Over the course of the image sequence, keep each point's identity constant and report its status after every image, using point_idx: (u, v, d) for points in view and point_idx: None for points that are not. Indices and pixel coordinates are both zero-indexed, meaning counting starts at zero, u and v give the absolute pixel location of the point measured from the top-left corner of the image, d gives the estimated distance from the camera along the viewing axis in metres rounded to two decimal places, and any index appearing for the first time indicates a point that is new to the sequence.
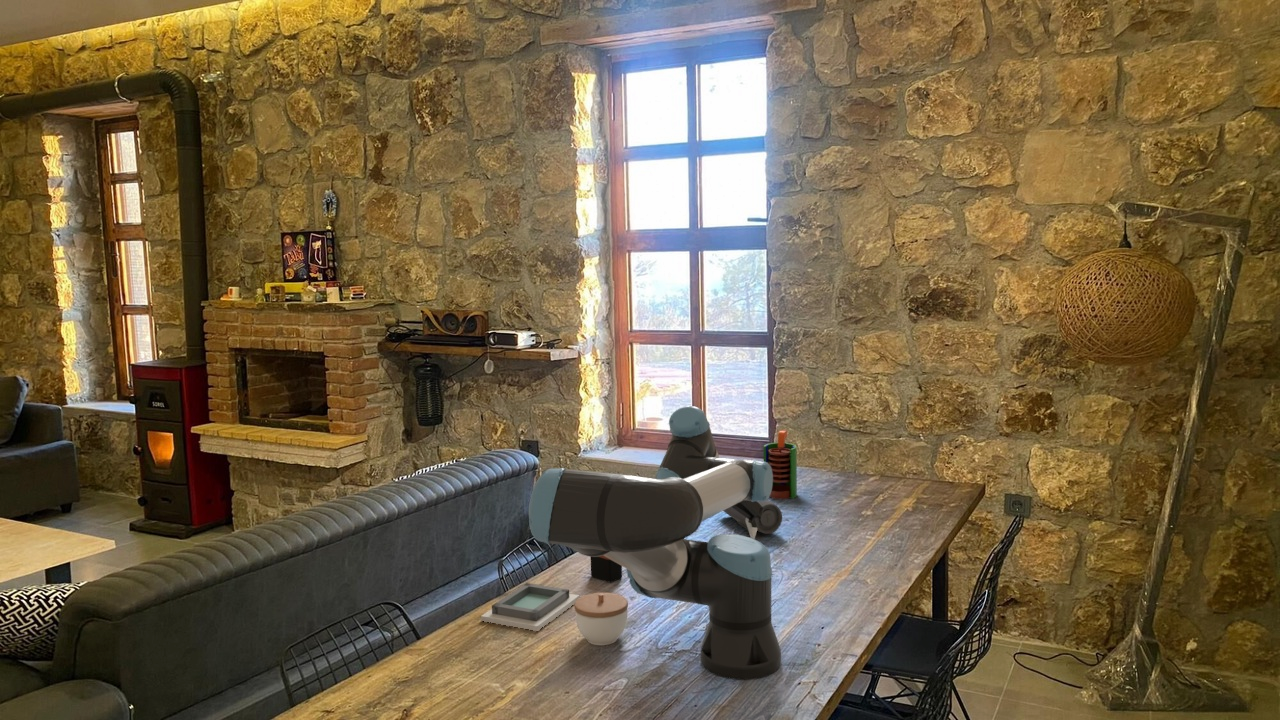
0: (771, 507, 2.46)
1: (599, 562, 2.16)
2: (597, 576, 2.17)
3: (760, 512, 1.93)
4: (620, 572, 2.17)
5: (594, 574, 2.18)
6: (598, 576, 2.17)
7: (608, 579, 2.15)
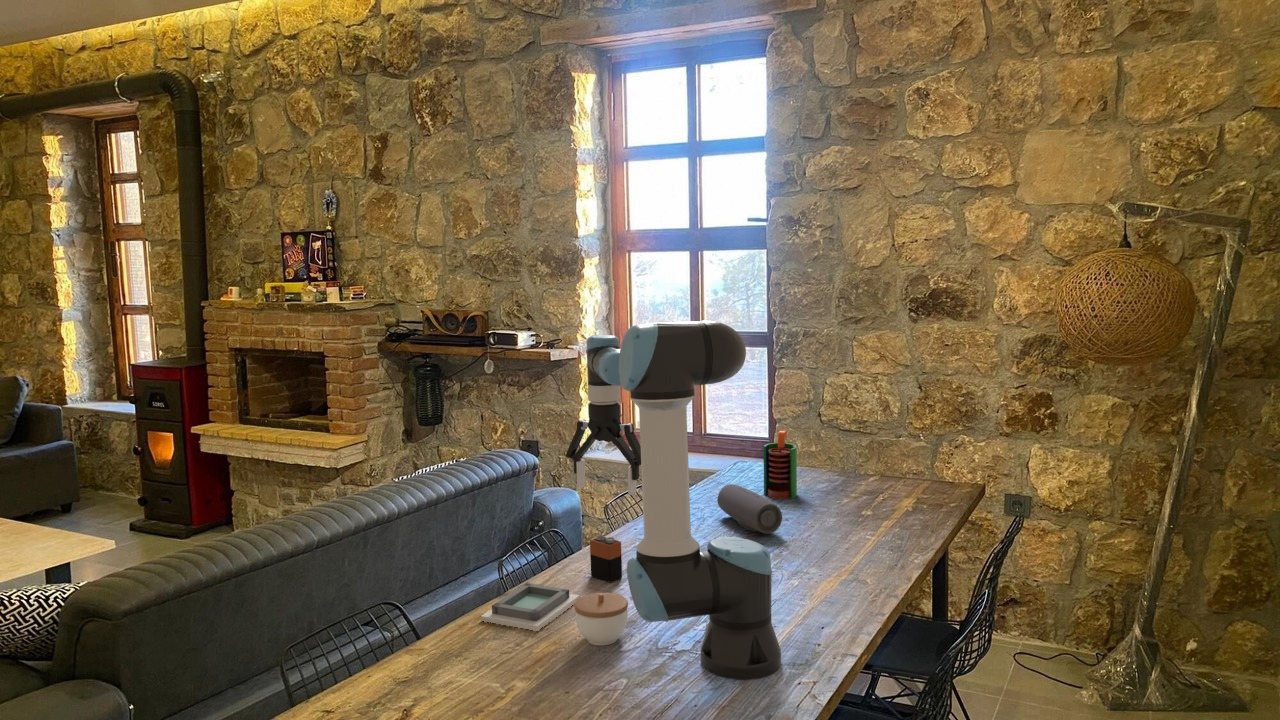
0: (771, 507, 2.46)
1: (599, 562, 2.16)
2: (597, 576, 2.17)
3: None
4: (620, 572, 2.17)
5: (594, 574, 2.18)
6: (598, 576, 2.17)
7: (608, 579, 2.15)
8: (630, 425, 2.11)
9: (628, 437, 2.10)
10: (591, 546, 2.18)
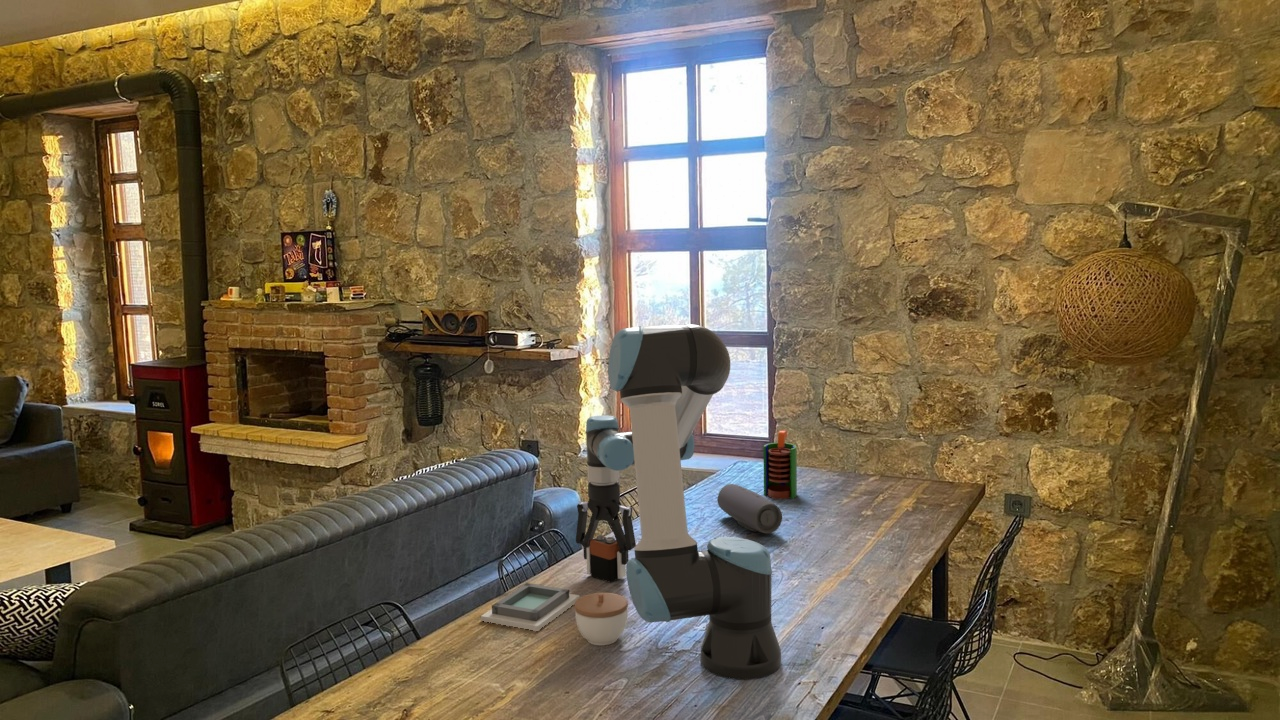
0: (771, 507, 2.46)
1: (599, 561, 2.16)
2: (597, 576, 2.17)
3: (632, 545, 2.14)
4: None
5: (595, 573, 2.18)
6: (598, 576, 2.17)
7: (608, 579, 2.15)
8: (629, 510, 2.13)
9: (624, 521, 2.13)
10: (591, 546, 2.18)
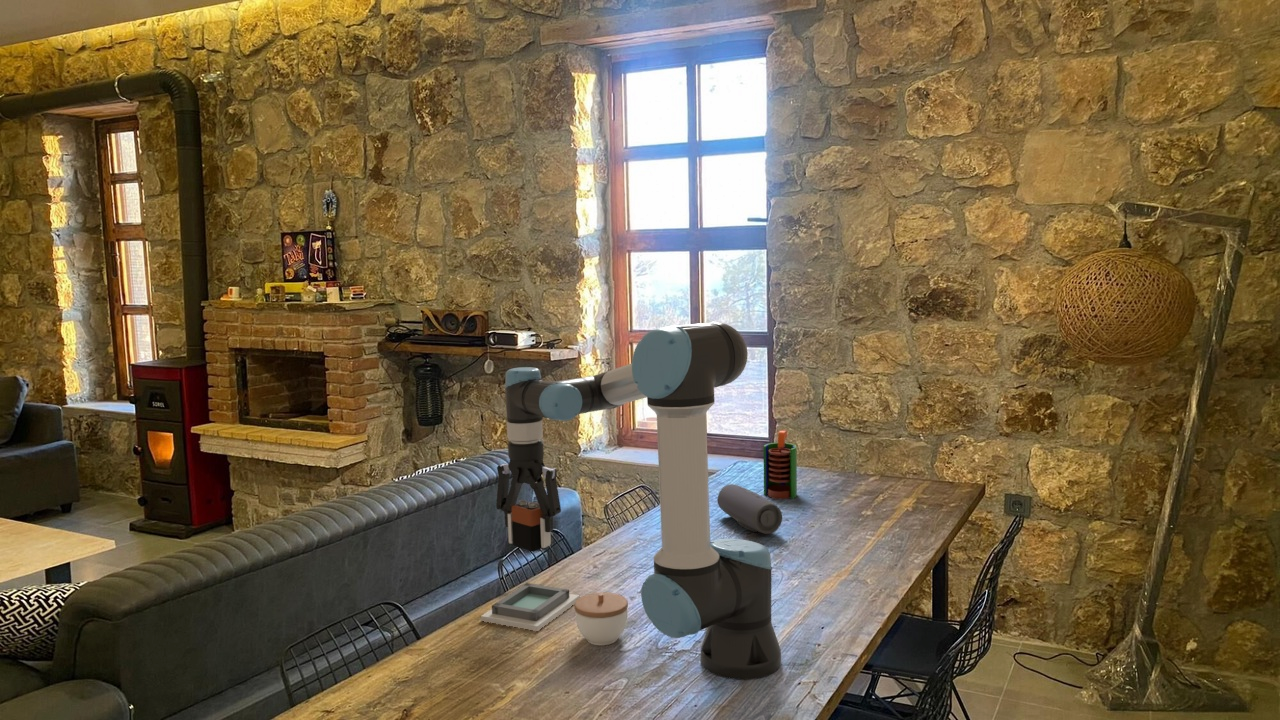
0: (771, 507, 2.46)
1: (520, 529, 1.96)
2: (519, 545, 1.97)
3: (557, 510, 1.93)
4: None
5: (516, 542, 1.97)
6: (520, 545, 1.97)
7: (530, 548, 1.94)
8: (553, 471, 1.93)
9: (548, 484, 1.92)
10: (513, 512, 1.97)
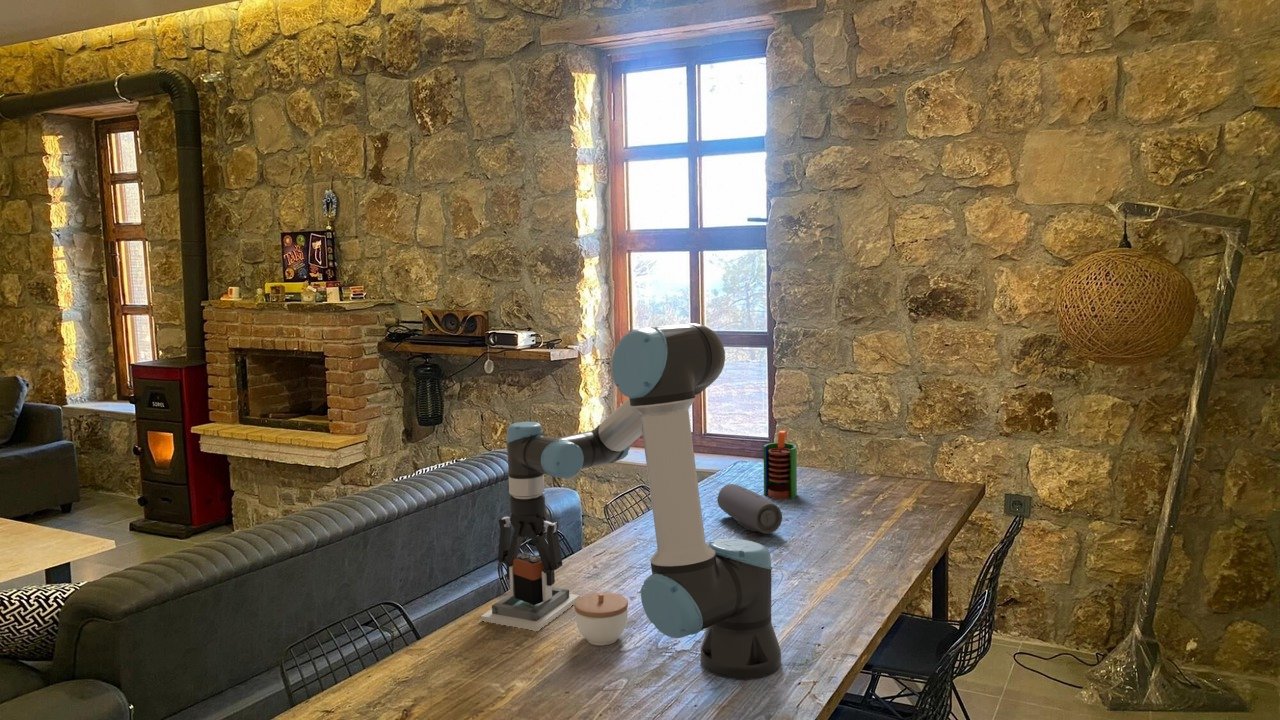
0: (771, 507, 2.46)
1: (522, 582, 1.97)
2: (521, 598, 1.98)
3: (558, 564, 1.95)
4: None
5: (518, 595, 1.99)
6: (522, 598, 1.98)
7: (532, 601, 1.96)
8: (555, 526, 1.94)
9: (549, 538, 1.94)
10: (514, 565, 1.98)
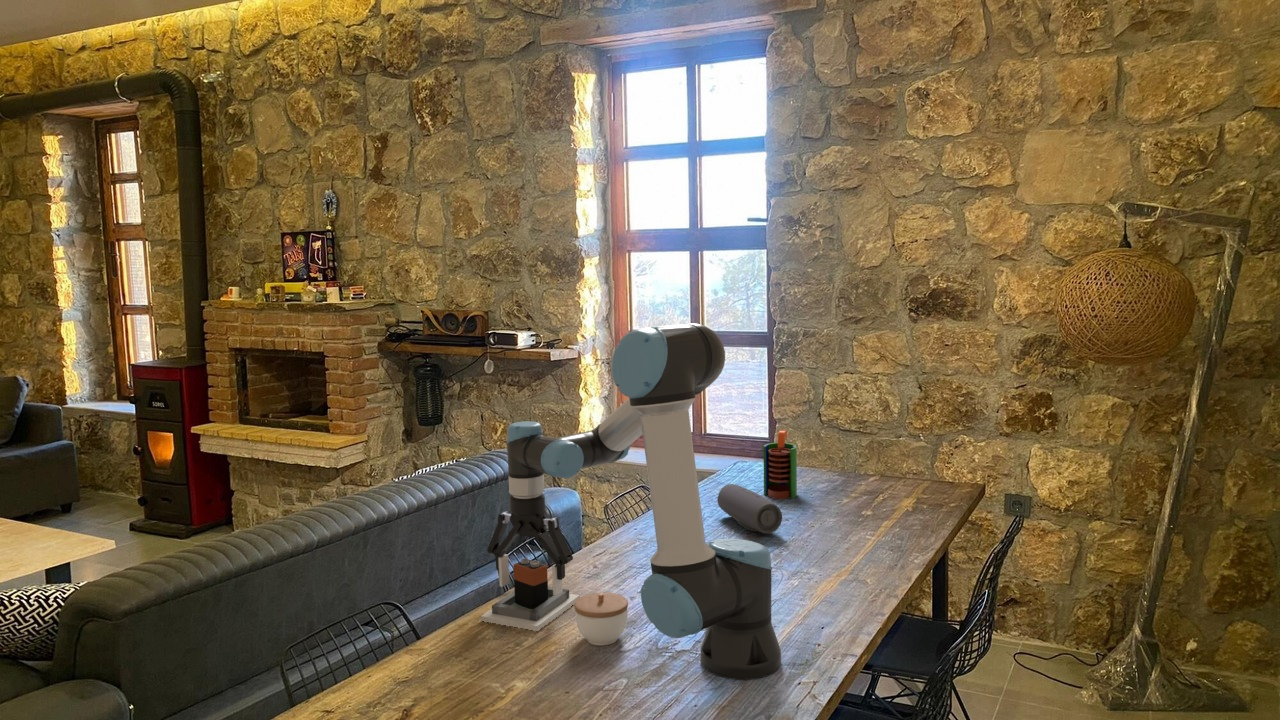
0: (771, 507, 2.46)
1: (522, 588, 1.97)
2: (521, 603, 1.98)
3: (568, 557, 1.93)
4: (546, 599, 1.98)
5: (518, 601, 1.99)
6: (522, 603, 1.98)
7: (532, 607, 1.96)
8: (554, 520, 1.94)
9: (552, 533, 1.93)
10: (514, 570, 1.99)
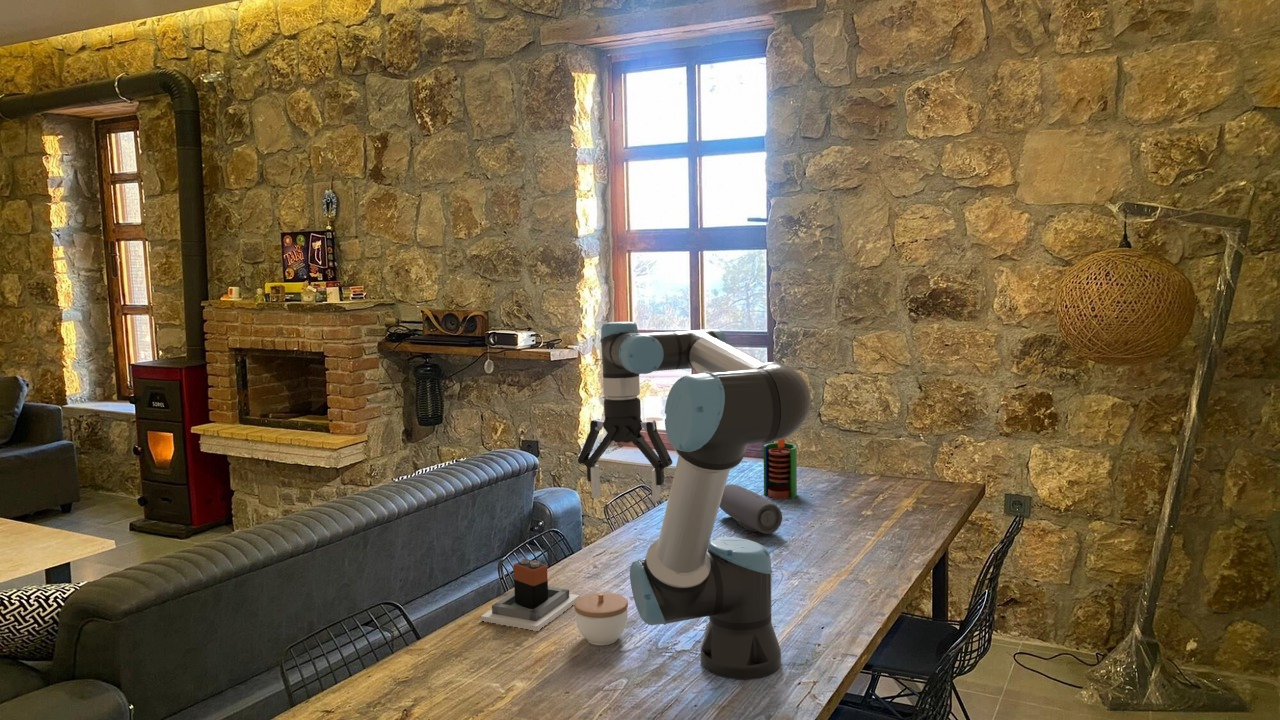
0: (771, 507, 2.46)
1: (522, 588, 1.97)
2: (521, 603, 1.98)
3: (668, 461, 1.85)
4: (546, 599, 1.98)
5: (518, 601, 1.99)
6: (522, 603, 1.98)
7: (532, 607, 1.96)
8: (653, 422, 1.85)
9: (651, 436, 1.85)
10: (514, 570, 1.98)
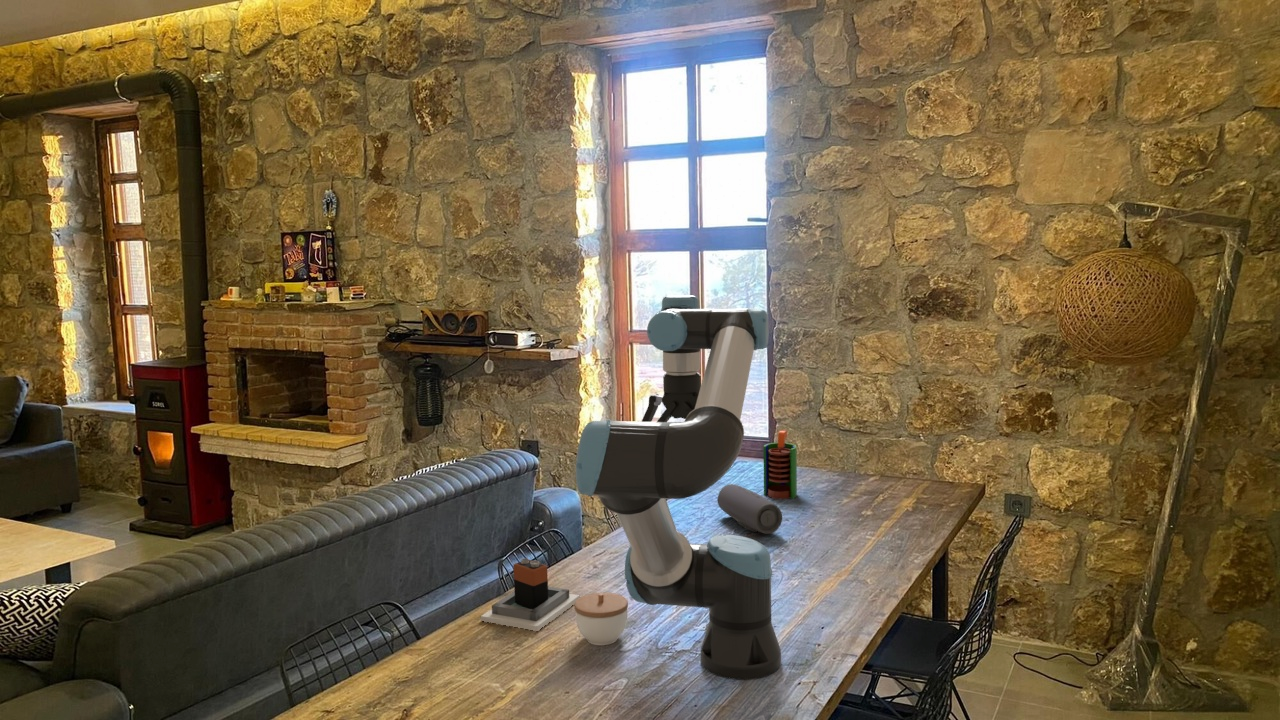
0: (771, 507, 2.46)
1: (522, 588, 1.97)
2: (521, 603, 1.98)
3: None
4: (546, 599, 1.98)
5: (518, 601, 1.99)
6: (522, 603, 1.98)
7: (532, 607, 1.96)
8: None
9: None
10: (514, 570, 1.98)
